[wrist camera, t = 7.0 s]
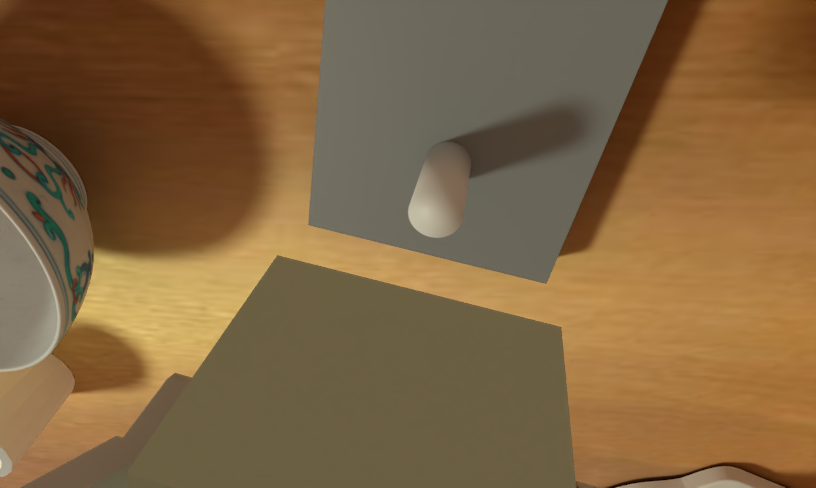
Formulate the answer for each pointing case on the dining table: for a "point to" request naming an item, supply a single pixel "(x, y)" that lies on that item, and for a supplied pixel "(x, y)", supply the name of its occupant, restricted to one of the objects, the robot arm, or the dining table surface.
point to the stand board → (470, 121)
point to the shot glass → (29, 406)
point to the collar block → (367, 394)
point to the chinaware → (39, 247)
